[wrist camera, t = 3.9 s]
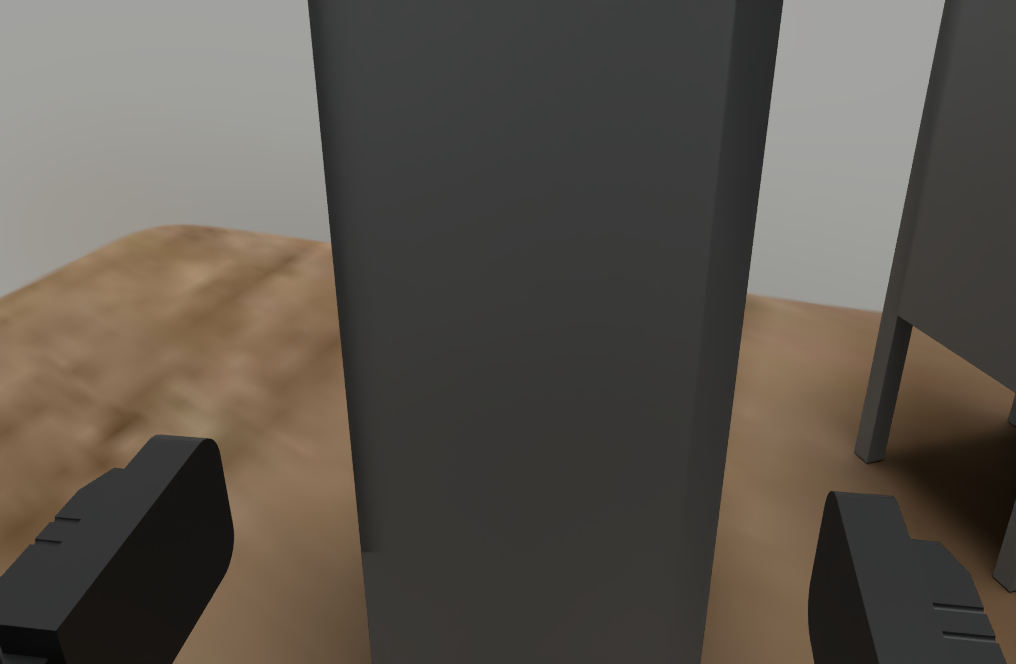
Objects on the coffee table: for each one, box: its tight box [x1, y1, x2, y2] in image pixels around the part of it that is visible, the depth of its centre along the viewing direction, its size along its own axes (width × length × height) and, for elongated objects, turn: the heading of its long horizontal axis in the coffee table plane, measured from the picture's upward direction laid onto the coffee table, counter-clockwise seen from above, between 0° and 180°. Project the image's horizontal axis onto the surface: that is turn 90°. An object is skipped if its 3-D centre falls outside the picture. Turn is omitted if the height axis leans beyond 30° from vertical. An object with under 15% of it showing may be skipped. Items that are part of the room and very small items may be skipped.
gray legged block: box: [308, 0, 783, 664], centre depth 19 cm, size 6×6×16 cm
